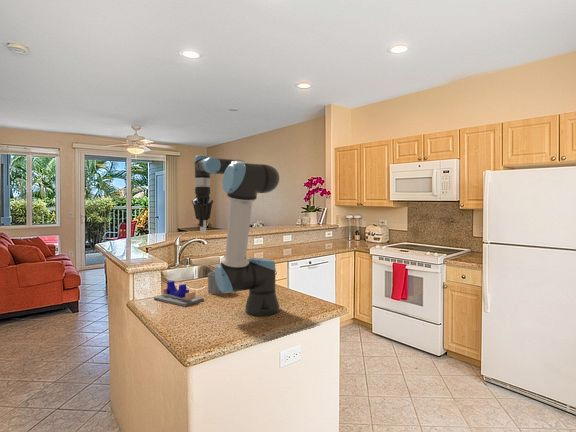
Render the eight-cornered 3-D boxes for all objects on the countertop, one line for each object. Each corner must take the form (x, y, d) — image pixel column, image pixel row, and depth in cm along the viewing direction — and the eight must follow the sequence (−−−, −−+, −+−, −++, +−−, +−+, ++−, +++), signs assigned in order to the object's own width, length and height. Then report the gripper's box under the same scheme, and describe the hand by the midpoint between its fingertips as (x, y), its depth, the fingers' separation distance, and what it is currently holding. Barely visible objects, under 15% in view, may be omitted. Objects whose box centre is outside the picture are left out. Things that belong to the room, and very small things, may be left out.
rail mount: (203, 300, 173) (203, 290, 173) (184, 306, 163) (184, 296, 162) (173, 294, 184) (173, 284, 184) (153, 299, 174) (153, 289, 174)
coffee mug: (227, 293, 186) (227, 274, 185) (208, 294, 183) (207, 275, 183) (226, 287, 199) (225, 269, 198) (207, 288, 196) (207, 270, 196)
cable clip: (189, 295, 172) (188, 283, 172) (181, 297, 169) (180, 285, 168) (175, 291, 180) (175, 280, 180) (167, 293, 176) (167, 281, 176)
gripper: (206, 187, 186) (207, 231, 187) (187, 186, 175) (188, 233, 176) (217, 186, 182) (217, 232, 183) (198, 185, 171) (198, 234, 172)
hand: (203, 232), depth 180 cm, fingers closed
